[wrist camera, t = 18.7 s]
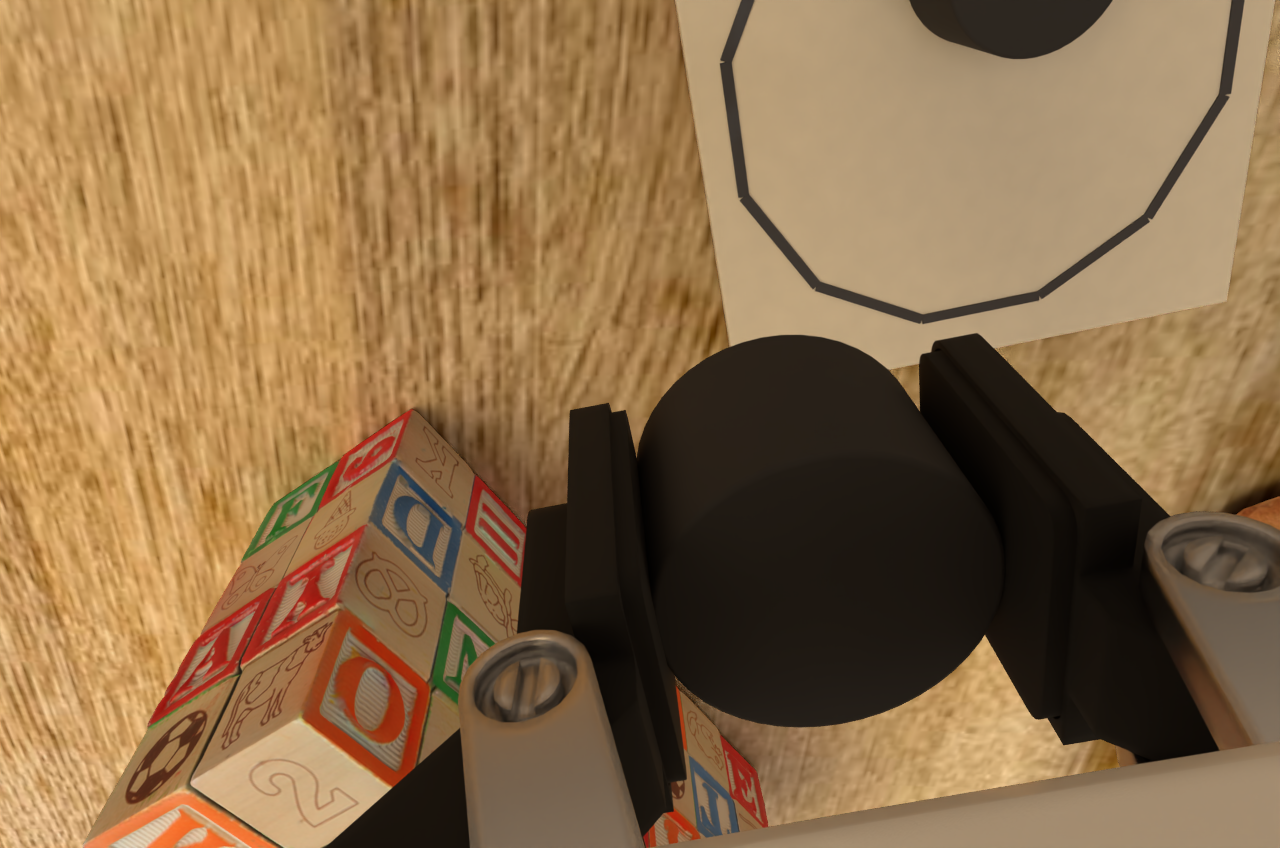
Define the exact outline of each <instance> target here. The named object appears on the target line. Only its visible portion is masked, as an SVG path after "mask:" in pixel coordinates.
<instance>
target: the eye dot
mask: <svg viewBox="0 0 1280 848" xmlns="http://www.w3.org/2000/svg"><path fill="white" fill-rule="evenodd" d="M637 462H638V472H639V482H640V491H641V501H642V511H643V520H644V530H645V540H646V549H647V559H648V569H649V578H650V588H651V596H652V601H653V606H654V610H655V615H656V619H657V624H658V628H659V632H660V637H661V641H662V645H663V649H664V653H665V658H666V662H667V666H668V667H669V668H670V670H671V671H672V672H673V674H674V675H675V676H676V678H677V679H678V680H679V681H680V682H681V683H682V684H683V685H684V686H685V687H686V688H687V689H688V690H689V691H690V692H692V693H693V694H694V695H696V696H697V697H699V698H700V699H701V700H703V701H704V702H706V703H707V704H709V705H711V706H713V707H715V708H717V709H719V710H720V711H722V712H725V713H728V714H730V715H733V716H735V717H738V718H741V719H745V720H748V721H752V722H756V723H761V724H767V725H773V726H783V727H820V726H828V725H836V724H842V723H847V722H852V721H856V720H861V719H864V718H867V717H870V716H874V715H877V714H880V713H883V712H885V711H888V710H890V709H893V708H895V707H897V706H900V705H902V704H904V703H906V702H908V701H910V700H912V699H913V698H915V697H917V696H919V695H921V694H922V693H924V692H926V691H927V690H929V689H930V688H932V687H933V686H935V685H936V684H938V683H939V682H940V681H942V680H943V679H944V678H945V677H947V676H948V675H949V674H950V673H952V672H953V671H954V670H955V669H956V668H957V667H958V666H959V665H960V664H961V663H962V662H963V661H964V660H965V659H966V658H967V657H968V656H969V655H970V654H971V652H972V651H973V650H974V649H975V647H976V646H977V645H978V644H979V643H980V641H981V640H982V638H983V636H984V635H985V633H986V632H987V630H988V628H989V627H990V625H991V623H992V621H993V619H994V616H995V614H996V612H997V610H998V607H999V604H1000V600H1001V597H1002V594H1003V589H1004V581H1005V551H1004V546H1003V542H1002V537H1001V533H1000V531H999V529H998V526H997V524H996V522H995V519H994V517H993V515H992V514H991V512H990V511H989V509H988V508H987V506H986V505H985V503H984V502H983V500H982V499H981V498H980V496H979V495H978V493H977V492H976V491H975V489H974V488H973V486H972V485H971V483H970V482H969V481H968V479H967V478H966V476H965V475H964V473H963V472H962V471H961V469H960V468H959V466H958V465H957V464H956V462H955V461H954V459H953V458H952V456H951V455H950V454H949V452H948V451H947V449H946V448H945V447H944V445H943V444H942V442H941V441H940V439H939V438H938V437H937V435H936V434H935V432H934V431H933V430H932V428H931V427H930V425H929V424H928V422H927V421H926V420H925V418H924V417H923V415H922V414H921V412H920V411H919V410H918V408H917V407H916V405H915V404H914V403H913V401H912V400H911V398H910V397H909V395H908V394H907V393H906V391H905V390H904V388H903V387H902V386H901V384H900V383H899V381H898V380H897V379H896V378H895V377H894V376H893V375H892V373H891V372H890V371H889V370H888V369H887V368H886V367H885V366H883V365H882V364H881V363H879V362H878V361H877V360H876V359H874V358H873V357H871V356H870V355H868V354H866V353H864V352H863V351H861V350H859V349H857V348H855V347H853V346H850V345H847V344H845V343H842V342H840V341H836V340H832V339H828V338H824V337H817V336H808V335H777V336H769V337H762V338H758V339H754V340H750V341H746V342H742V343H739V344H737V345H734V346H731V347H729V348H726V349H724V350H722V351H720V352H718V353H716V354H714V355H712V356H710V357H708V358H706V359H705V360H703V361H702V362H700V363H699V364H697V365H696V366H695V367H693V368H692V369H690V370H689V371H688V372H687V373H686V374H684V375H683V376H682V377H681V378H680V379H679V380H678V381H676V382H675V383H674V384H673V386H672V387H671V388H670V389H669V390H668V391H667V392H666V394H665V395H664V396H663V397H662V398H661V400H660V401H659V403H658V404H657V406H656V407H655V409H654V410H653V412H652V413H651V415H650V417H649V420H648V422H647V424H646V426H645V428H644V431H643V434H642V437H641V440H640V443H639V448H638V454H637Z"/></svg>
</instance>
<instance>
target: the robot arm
mask: <svg viewBox="0 0 1280 848" xmlns="http://www.w3.org/2000/svg"><path fill="white" fill-rule="evenodd" d="M919 385H920V412H921V414H922V415H923V417H924V418H925V420H926V421H927V422H928V424H929V425H930V427H931V428H932V430H933V431H934V432H935V434H936V435H937V437H938V438H939V439H940V441H941V442H942V444H943V445H944V447H945V448H946V449H947V451H948V452H949V454H950V455H951V456H952V458H953V459H954V461H955V462H956V464H957V465H958V466H959V468H960V469H961V471H962V472H963V473H964V475H965V476H966V478H967V479H968V481H969V482H970V483H971V485H972V486H973V488H974V489H975V491H976V492H977V493H978V495H979V496H980V498H981V499H982V500H983V502H984V503H985V505H986V506H987V508H988V509H989V511H990V512H991V514H992V515H993V517H994V519H995V522H996V524H997V526H998V529H999V531H1000V533H1001V537H1002V542H1003V546H1004V551H1005V581H1004V589H1003V594H1002V597H1001V600H1000V604H999V607H998V610H997V612H996V614H995V616H994V619H993V621H992V623H991V625H990V627H989V628H988V630H987V632H986V633H985V635H986V637H987V639H988V641H989V642H990V644H991V646H992V648H993V649H994V651H995V653H996V655H997V656H998V658H999V660H1000V662H1001V663H1002V665H1003V667H1004V669H1005V670H1006V672H1007V674H1008V676H1009V677H1010V679H1011V681H1012V683H1013V684H1014V686H1015V688H1016V690H1017V691H1018V693H1019V695H1020V697H1021V698H1022V700H1023V702H1024V704H1025V705H1026V707H1027V709H1028V711H1029V712H1030V714H1031V715H1032V716H1033V717H1034V718H1035V719H1038V720H1039V719H1045V718H1048V720H1049V721H1050V723H1051V725H1052V727H1053V728H1054V730H1055V732H1056V733H1057V735H1058V737H1059V738H1060V740H1061V742H1062V743H1063V745H1068V744H1074V743H1080V742H1086V741H1092V740H1098V739H1102V740H1104V741H1106V742H1109V743H1111V744H1114V745H1116V753H1117V758H1118V763H1119V766H1120V767H1119V768H1113V769H1107V770H1101V771H1095V772H1089V773H1083V774H1077V775H1071V776H1065V777H1059V778H1053V779H1047V780H1041V781H1035V782H1029V783H1023V784H1017V785H1011V786H1005V787H999V788H993V789H987V790H981V791H975V792H969V793H964V794H958V795H952V796H946V797H940V798H934V799H928V800H922V801H916V802H910V803H905V804H899V805H893V806H887V807H881V808H875V809H869V810H863V811H857V812H851V813H846V814H840V815H834V816H828V817H823V818H817V819H811V820H805V821H800V822H794V823H788V824H782V825H777V826H771V827H765V828H759V829H754V830H748V831H742V832H736V833H731V834H725V835H719V836H713V837H708V838H702V839H696V840H690V841H685V842H679V843H673V844H668V845H662V846H656V847H650V848H1280V530H1278V529H1277V528H1275V527H1273V526H1271V525H1269V524H1266V523H1263V522H1260V521H1257V520H1254V519H1251V518H1248V517H1245V516H1240V515H1234V514H1229V513H1223V512H1197V511H1196V512H1190V513H1184V514H1177V515H1174V516H1169V515H1168V514H1167V513H1166V512H1165V511H1164V510H1163V509H1162V508H1161V507H1160V506H1159V505H1158V504H1157V503H1156V502H1155V501H1154V500H1153V499H1152V498H1151V497H1150V496H1149V495H1148V494H1147V493H1146V492H1145V491H1144V490H1143V489H1142V488H1141V487H1140V486H1139V485H1138V484H1137V483H1136V482H1135V481H1134V480H1133V479H1132V478H1131V477H1130V476H1129V475H1128V474H1127V473H1126V472H1125V471H1124V470H1123V469H1122V468H1121V467H1120V466H1119V465H1118V464H1117V463H1116V462H1115V461H1114V460H1113V459H1112V458H1111V457H1110V456H1109V455H1108V454H1107V453H1106V452H1105V451H1104V450H1103V449H1102V448H1101V447H1100V446H1099V445H1098V444H1097V443H1096V442H1095V441H1094V440H1093V439H1092V438H1091V437H1090V436H1089V435H1088V434H1087V433H1086V432H1085V431H1084V430H1083V429H1082V428H1081V427H1080V426H1079V425H1078V424H1077V423H1076V422H1075V421H1074V420H1073V419H1072V418H1071V417H1069V416H1068V415H1066V414H1065V413H1060V412H1056V411H1055V410H1054V409H1053V408H1052V407H1051V406H1050V405H1049V404H1048V403H1047V402H1046V401H1045V400H1044V399H1043V398H1042V397H1041V396H1040V395H1039V394H1038V393H1037V392H1036V391H1035V390H1034V389H1033V388H1032V386H1031V385H1030V384H1029V383H1028V382H1027V381H1026V380H1025V379H1024V378H1023V377H1022V376H1021V375H1020V374H1019V373H1018V372H1017V371H1016V370H1015V369H1014V368H1013V367H1012V366H1011V365H1010V364H1009V363H1008V362H1007V361H1006V360H1005V359H1004V358H1003V357H1002V356H1001V355H1000V354H999V353H998V352H997V351H996V350H995V349H994V348H993V347H992V346H991V345H990V344H989V343H988V342H987V341H986V340H985V339H984V338H983V337H982V336H981V335H980V334H978V333H974V334H968V335H963V336H958V337H953V338H947V339H942V340H937V341H935V342H934V343H933V345H932V349H931V352H929V353H924V354H921V356H920V360H919ZM458 708H459V720H460V728H459V729H458V730H457V731H456V732H455V733H453V734H452V735H451V736H450V737H449V738H448V739H447V740H446V741H444V742H443V743H442V744H441V745H440V746H439V747H438V748H437V749H435V750H434V751H433V752H432V753H431V754H430V755H429V756H428V757H426V758H425V759H424V760H423V761H422V762H421V763H420V764H418V765H417V766H416V767H415V768H414V769H413V770H412V771H411V772H409V773H408V774H407V775H406V776H405V777H404V778H403V779H402V780H400V781H399V782H398V783H397V784H396V785H395V786H394V787H393V788H391V789H390V790H389V791H388V792H387V793H386V794H385V795H384V796H382V797H381V798H380V799H379V800H378V801H377V802H376V803H374V804H373V805H372V806H371V807H370V808H369V809H368V810H367V811H365V812H364V813H363V814H362V815H361V816H360V817H359V818H358V819H356V820H355V821H354V822H353V823H352V824H351V825H350V826H349V827H347V828H346V829H345V830H344V831H343V832H342V833H341V834H340V835H338V836H337V837H336V838H335V839H334V840H333V841H332V842H330V843H329V844H328V845H327V846H326V847H325V848H646V844H645V841H644V836H645V834H646V833H647V832H648V831H649V830H650V829H651V827H652V826H653V825H654V824H655V823H656V822H657V820H658V819H659V818H660V817H661V816H662V814H663V813H669V812H674V806H673V796H672V787H671V782H677V781H683V780H687V772H686V763H685V755H684V747H683V739H682V731H681V723H680V715H679V707H678V699H677V691H676V683H675V675H674V674H673V672H672V671H671V670H670V668H669V667H668V666H667V662H666V658H665V653H664V649H663V645H662V641H661V637H660V632H659V628H658V624H657V619H656V615H655V610H654V606H653V601H652V596H651V588H650V578H649V569H648V559H647V549H646V540H645V530H644V520H643V511H642V501H641V491H640V482H639V472H638V462H637V458H636V453H635V449H634V444H633V440H632V435H631V431H630V426H629V422H628V417H627V413H626V410H623V411H618V412H613V413H612V412H611V408H610V405H609V403H606V404H600V405H595V406H590V407H585V408H579V409H574V410H570V420H569V457H568V494H567V503H566V504H561V505H555V506H550V507H544V508H539V509H534V510H531V511H530V512H529V514H528V519H527V529H526V539H525V550H524V561H523V571H522V582H521V592H520V603H519V613H518V624H517V634H515V635H513V636H510V637H508V638H506V639H504V640H501V641H499V642H497V643H496V644H494V645H493V646H491V647H490V648H489V649H487V650H486V651H484V652H483V653H481V654H480V655H479V657H478V658H477V659H476V660H475V661H474V662H473V663H472V664H471V665H470V667H469V668H468V669H467V671H466V673H465V675H464V677H463V679H462V681H461V683H460V688H459V696H458Z"/></svg>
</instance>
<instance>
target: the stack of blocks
mask: <svg viewBox="0 0 1280 848" xmlns="http://www.w3.org/2000/svg"><path fill="white" fill-rule="evenodd" d="M526 529H527V528H526V527H525V526H524V525H523V524H522V523H521V522H520V521H519V519H518V518H517V517H516V516H515V515H514V514H513V513H512V512H511V511H510V510H509V509H508V508H507V507H506V506H505V505H504V504H503V503H502V502H501V500H500V499H499V498H498V497H497V496H496V495H495V494H494V493H493V492H492V491H491V490H490V489H489V488H488V486H487V485H486V484H485V483H484V482H483V481H482V480H481V479H480V478H479V477H478V476H476V475H475V474H474V473H473V472H472V470H471V468H470V467H469V466H468V465H467V463H466V462H465V461H464V460H463V459H462V458H461V457H460V456H459V455H458V454H457V453H456V452H455V451H454V450H453V448H452V447H451V446H450V445H449V444H448V443H447V442H446V441H445V440H444V439H443V438H442V437H441V436H440V435H439V434H438V433H437V432H436V431H435V429H434V428H433V427H432V426H431V425H430V424H429V423H428V422H427V421H426V420H425V419H424V418H423V417H422V416H421V415H420V414H419V413H418V412H416V411H415V410H413V409H411V410H409V411H407V412H406V413H404V414H403V415H401V416H400V417H398V418H397V419H395V420H394V421H392V422H391V423H389V424H388V425H386V426H385V427H383V428H382V429H381V430H379V431H378V432H376V433H375V434H373V435H372V436H370V437H369V438H367V439H366V440H365V441H363V442H362V443H360V444H359V445H357V446H356V447H355V448H353V449H352V450H350V451H349V452H348V453H346V454H345V455H343V457H342V458H341V459H340V461H338V462H336V463H334V464H333V465H331V466H329V467H328V468H326V469H325V470H323V471H322V472H320V473H319V474H317V475H316V476H314V477H313V478H312V479H310V480H309V481H307V482H306V483H304V484H303V485H301V486H300V487H298V488H297V489H295V490H294V491H292V492H291V493H289V494H288V495H286V496H285V497H283V498H282V499H280V500H279V501H277V502H276V503H274V505H273V506H272V507H271V509H270V510H269V512H268V513H267V515H266V517H265V519H264V520H263V522H262V524H261V525H260V527H259V529H258V531H257V533H256V535H255V537H254V538H253V540H252V542H251V544H250V546H249V548H248V549H247V551H246V553H245V555H244V557H243V559H242V561H241V565H240V566H239V568H238V569H237V571H236V573H235V574H234V576H233V578H232V579H231V581H230V583H229V585H228V586H227V588H226V590H225V591H224V593H223V595H222V597H221V598H220V600H219V602H218V603H217V605H216V607H215V609H214V610H213V612H212V614H211V616H210V617H209V619H208V621H207V623H206V625H205V626H204V628H203V630H202V633H201V635H200V637H199V638H198V639H197V640H196V641H195V642H194V643H193V645H192V647H191V648H190V650H189V652H188V653H187V655H186V657H185V658H184V660H183V662H182V663H181V665H180V667H179V670H178V672H177V674H176V676H175V677H174V679H173V680H172V682H171V683H170V685H169V686H168V688H167V690H166V692H165V696H164V698H163V699H162V700H161V702H160V703H159V704H158V706H157V708H156V709H155V711H154V713H153V715H152V717H151V719H150V721H149V723H148V730H147V732H146V734H145V736H144V737H143V739H142V741H141V743H140V744H139V746H138V748H137V750H136V751H135V753H134V755H133V757H132V758H131V760H130V762H129V764H128V765H127V767H126V769H125V771H124V772H123V774H122V776H121V778H120V779H119V781H118V783H117V785H116V786H115V788H114V790H113V792H112V793H111V795H110V797H109V799H108V800H107V802H106V804H105V806H104V807H103V809H102V811H101V813H100V814H99V816H98V818H97V820H96V822H95V823H94V825H93V827H92V829H91V830H90V832H89V834H88V836H87V838H86V840H85V842H84V843H83V848H325V847H326V846H327V845H328V844H329V843H330V842H332V841H333V840H334V839H335V838H336V837H337V836H338V835H340V834H341V833H342V832H343V831H344V830H345V829H346V828H347V827H349V826H350V825H351V824H352V823H353V822H354V821H355V820H356V819H358V818H359V817H360V816H361V815H362V814H363V813H364V812H365V811H367V810H368V809H369V808H370V807H371V806H372V805H373V804H374V803H376V802H377V801H378V800H379V799H380V798H381V797H382V796H384V795H385V794H386V793H387V792H388V791H389V790H390V789H391V788H393V787H394V786H395V785H396V784H397V783H398V782H399V781H400V780H402V779H403V778H404V777H405V776H406V775H407V774H408V773H409V772H411V771H412V770H413V769H414V768H415V767H416V766H417V765H418V764H420V763H421V762H422V761H423V760H424V759H425V758H426V757H428V756H429V755H430V754H431V753H432V752H433V751H434V750H435V749H437V748H438V747H439V746H440V745H441V744H442V743H443V742H444V741H446V740H447V739H448V738H449V737H450V736H451V735H452V734H453V733H455V732H456V731H457V730H458V729H459V728H460V720H459V708H458V696H459V688H460V683H461V681H462V679H463V677H464V675H465V673H466V671H467V669H468V668H469V667H470V665H471V664H472V663H473V662H474V661H475V660H476V659H477V658H478V657H479V655H480V654H481V653H483V652H484V651H486V650H487V649H489V648H490V647H491V646H493V645H494V644H496V643H497V642H499V641H501V640H504V639H506V638H508V637H510V636H513V635H515V634H517V624H518V613H519V603H520V592H521V582H522V571H523V561H524V550H525V539H526ZM676 691H677V699H678V707H679V715H680V723H681V731H682V739H683V747H684V755H685V763H686V772H687V780H683V781H677V782H671V787H672V796H673V806H674V812H669V813H663V814H662V816H661V817H660V818H659V819H658V820H657V822H656V823H655V824H654V825H653V826H652V827H651V829H650V830H649V831H648V832H647V833H646V834H645V836H644V841H645V844H646V848H650V847H656V846H662V845H668V844H673V843H679V842H685V841H690V840H696V839H702V838H708V837H713V836H719V835H725V834H731V833H736V832H742V831H748V830H754V829H759V828H765V827H768V821H767V816H766V811H765V804H764V800H763V796H762V792H761V788H760V783H759V780H758V775H757V771H756V770H755V769H754V768H753V767H752V766H751V765H750V764H749V763H748V762H747V761H746V760H745V759H744V758H743V757H742V756H741V755H740V754H739V753H738V752H737V751H736V750H735V749H734V748H733V747H732V746H731V745H730V744H729V743H728V742H727V741H726V740H725V739H724V738H723V737H722V736H721V735H720V734H719V731H718V729H717V728H716V727H715V725H714V724H713V723H712V722H711V721H710V720H709V719H708V718H707V717H706V716H705V715H704V714H703V713H702V712H701V711H700V710H699V709H698V708H697V707H696V706H695V705H694V704H693V702H692V701H691V700H690V699H689V698H688V697H687V696H686V695H685V694H684V693H682V692H681V691H679V689H678V688H677V686H676Z"/></svg>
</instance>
